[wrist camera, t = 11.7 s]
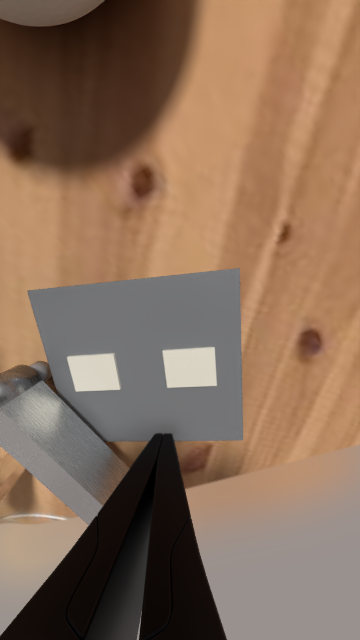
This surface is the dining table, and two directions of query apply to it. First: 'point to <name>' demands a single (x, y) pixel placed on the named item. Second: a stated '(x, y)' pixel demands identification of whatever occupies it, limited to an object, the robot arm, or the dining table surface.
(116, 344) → the label plate
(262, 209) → the dining table surface
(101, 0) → the serving bowl
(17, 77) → the dining table surface
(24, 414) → the swing bar
